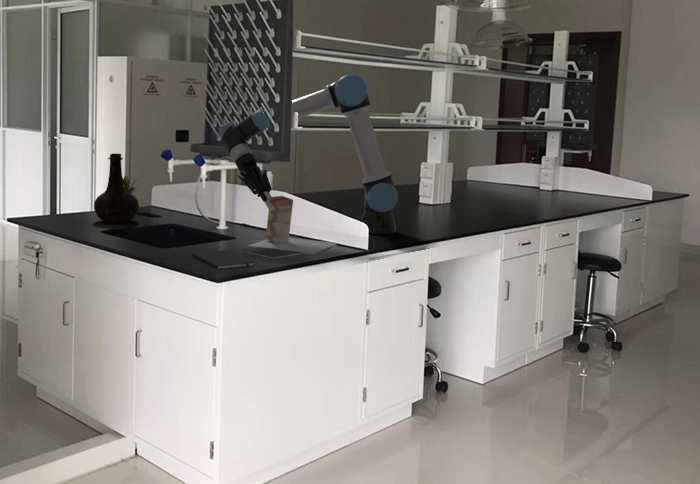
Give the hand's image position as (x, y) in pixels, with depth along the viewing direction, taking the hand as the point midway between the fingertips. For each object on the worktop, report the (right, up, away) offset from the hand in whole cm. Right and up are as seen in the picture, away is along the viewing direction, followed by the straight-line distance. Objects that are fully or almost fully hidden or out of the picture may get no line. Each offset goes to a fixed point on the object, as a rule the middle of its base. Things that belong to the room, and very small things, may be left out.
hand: (272, 207), depth 288 cm
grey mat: (+8, -14, -4) cm, 17 cm away
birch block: (+2, -12, +1) cm, 12 cm away
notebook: (-13, -20, -33) cm, 40 cm away
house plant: (-75, +2, +69) cm, 101 cm away
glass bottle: (-68, -5, +34) cm, 76 cm away
